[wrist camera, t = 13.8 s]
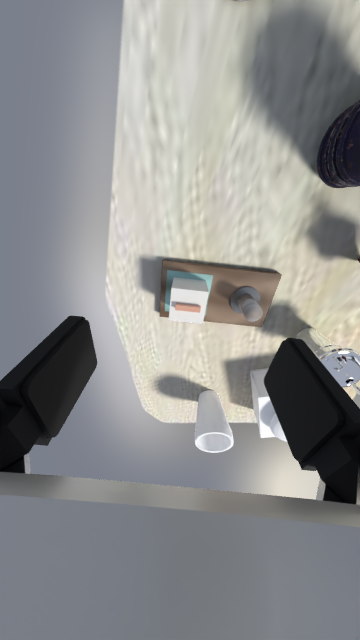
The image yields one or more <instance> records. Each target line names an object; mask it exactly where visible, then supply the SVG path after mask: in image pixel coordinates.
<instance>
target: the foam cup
mask: <svg viewBox="0 0 360 640" xmlns="http://www.w3.org/2000/svg"><path fill="white" fill-rule="evenodd" d="M233 442H234V440H233V435H232V430H231V429H230V426H229V423H228V420H227V417H226V414H225V411H224V408H223V405H222V402H221V399H220V396H219V394H218V393H217V392H215V391H212V390H207V391H203V392H202V393H200V395H199V398H198V409H197V420H196V430H195V444H196V446H197V447H198V448H199V449H200V450H203V451H205V452H213V453H216V452H223V451H225V450H228V449H230V448H231V447H232V446H233Z"/></svg>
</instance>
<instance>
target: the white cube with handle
mask: <svg viewBox="0 0 360 640" xmlns="http://www.w3.org/2000/svg"><path fill="white" fill-rule="evenodd" d="M208 294H209V290H208V286H207V283H206V281H204V280H195V279H186V278H177V277H174V279H173V283H172V287H171V299H170V311H169V320H170V321H180V322H189V323H198V324H203V320H204V315H205V310H206V305H207V300H208Z"/></svg>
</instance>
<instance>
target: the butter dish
mask: <svg viewBox="0 0 360 640" xmlns="http://www.w3.org/2000/svg"><path fill="white" fill-rule="evenodd" d="M268 369H269V368H264V369H257V370H250V378H251V389H252V401H253V410H254V413H255V416H256V419H257V422H258V425H259V430H260V437H261V438H266V437H277V438H279V439H281V440H283V441H285V442H287V440H286V437H285V435H284V432H283V430H282V427H281V425H280V422H279V420H278V417H277V415H276V413H275V410H274V408H273V405H272V403H271V400H270V398H269V395H268V393H267V390H266V388H265V385H264V377H265V375H266V373H267V371H268Z"/></svg>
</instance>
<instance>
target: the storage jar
mask: <svg viewBox="0 0 360 640" xmlns="http://www.w3.org/2000/svg"><path fill="white" fill-rule="evenodd" d="M317 168H318V173H319V176H320V178H321V179H322V181H323V182H324V183H325V184H327V185H328V186H330V187H333V188H345V187H357V186H360V100H359V101H358V102H357V103H355V104H354V105H353V106H351V107H350V108H348V109H346V110H345V111H344V112H343V113H342V114H340V115H339V116H338V117H337V119H336V120H335V121H334V122H333V123H332V125H331V126H330V127H329V129H328V130H327V132H326V134H325V136H324V138H323V140H322V142H321V145H320V148H319V152H318V158H317Z"/></svg>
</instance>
